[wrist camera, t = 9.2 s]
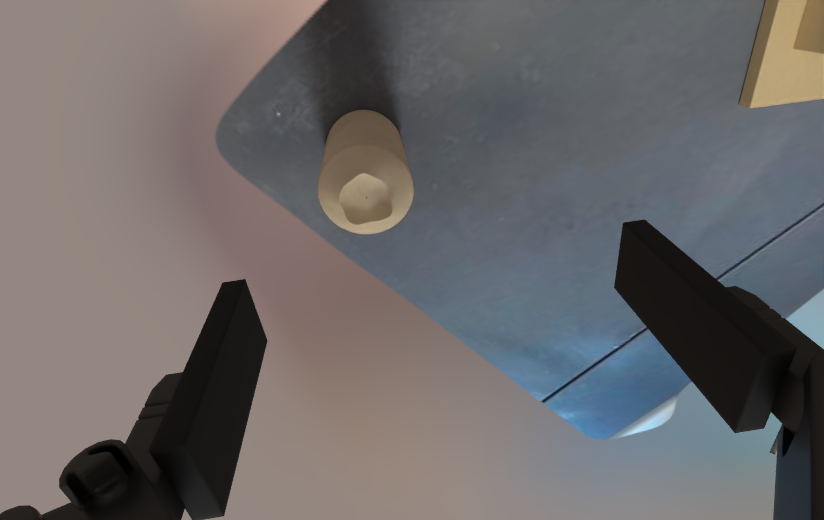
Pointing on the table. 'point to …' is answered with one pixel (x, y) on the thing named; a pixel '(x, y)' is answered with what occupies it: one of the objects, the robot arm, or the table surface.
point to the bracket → (787, 55)
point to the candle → (365, 174)
